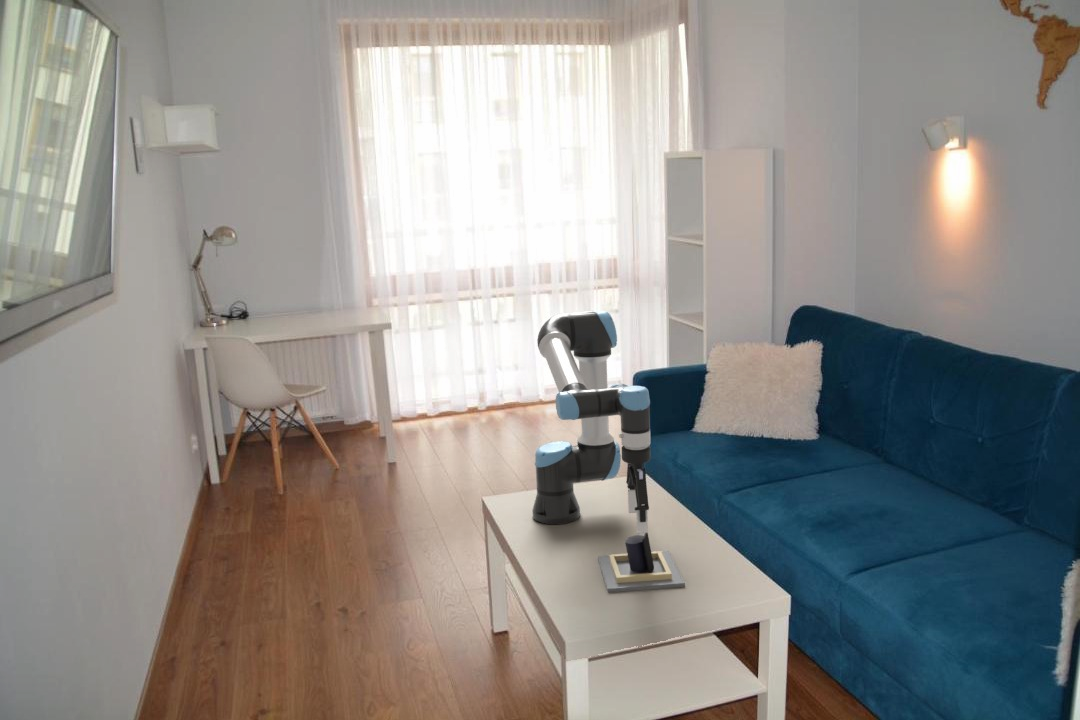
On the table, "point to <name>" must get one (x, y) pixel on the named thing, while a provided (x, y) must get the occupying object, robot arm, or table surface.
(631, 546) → the speaker
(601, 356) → the robot arm
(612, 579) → the mount board
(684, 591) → the table surface
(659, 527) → the table surface
